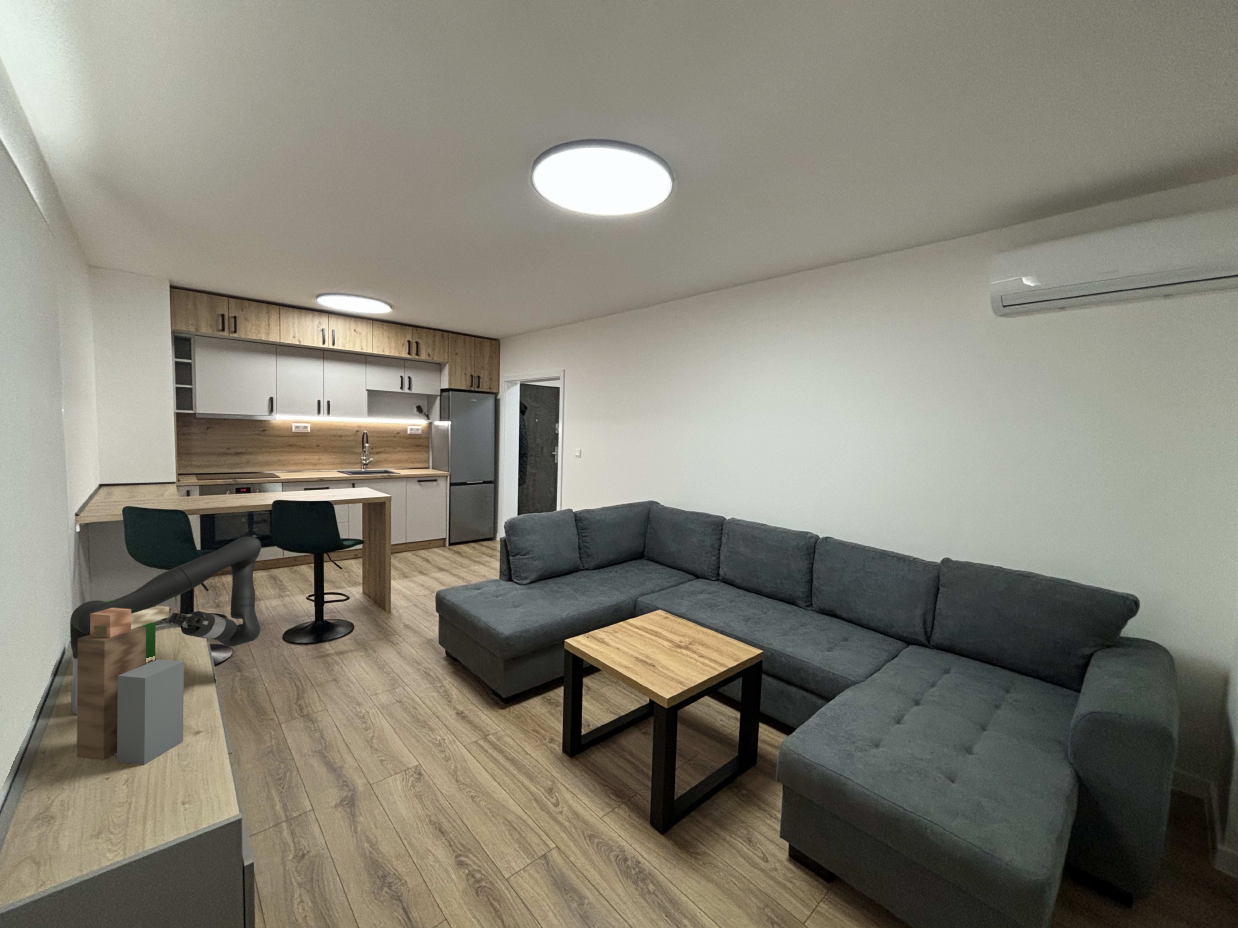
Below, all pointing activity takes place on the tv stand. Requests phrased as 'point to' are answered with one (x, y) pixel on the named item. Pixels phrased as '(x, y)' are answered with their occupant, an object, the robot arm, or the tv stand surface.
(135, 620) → the two-tone block
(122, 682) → the tall grey block
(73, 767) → the tv stand surface
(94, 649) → the tall stand
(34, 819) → the tv stand surface
